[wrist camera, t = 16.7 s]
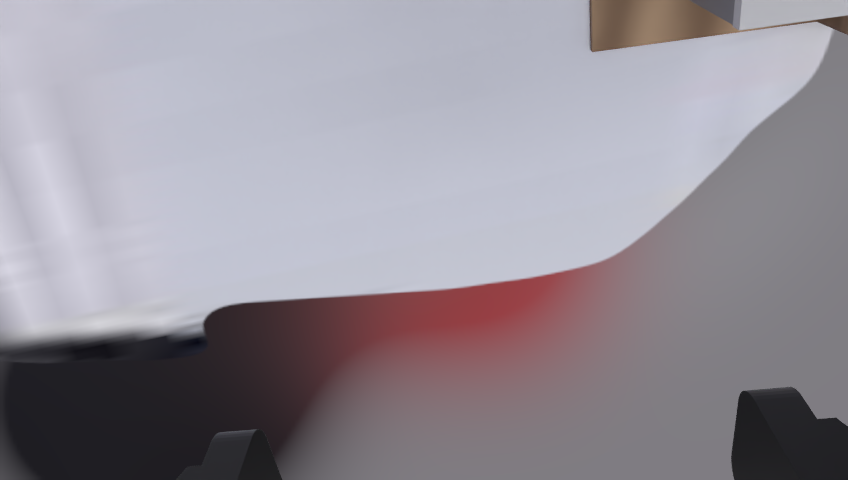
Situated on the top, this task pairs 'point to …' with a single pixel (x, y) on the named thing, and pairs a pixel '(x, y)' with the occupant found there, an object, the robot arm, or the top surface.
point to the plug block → (772, 11)
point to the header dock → (663, 23)
